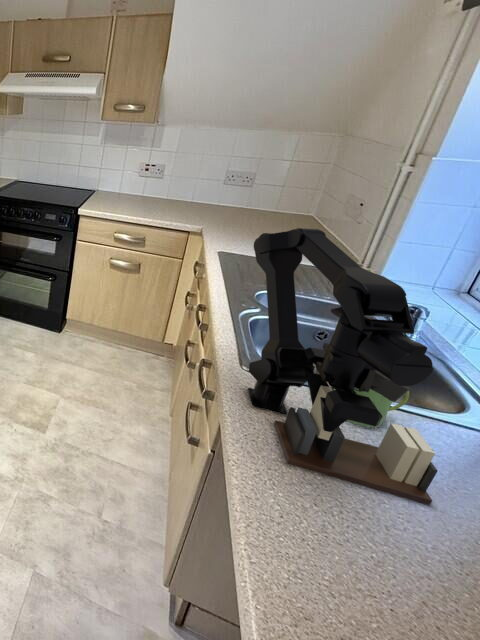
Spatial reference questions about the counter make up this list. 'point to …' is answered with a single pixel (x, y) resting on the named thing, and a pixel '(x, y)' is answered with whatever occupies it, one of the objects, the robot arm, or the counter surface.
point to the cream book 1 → (320, 413)
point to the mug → (379, 404)
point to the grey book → (306, 429)
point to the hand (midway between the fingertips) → (321, 419)
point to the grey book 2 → (330, 445)
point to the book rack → (349, 462)
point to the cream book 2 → (397, 452)
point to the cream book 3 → (418, 458)
